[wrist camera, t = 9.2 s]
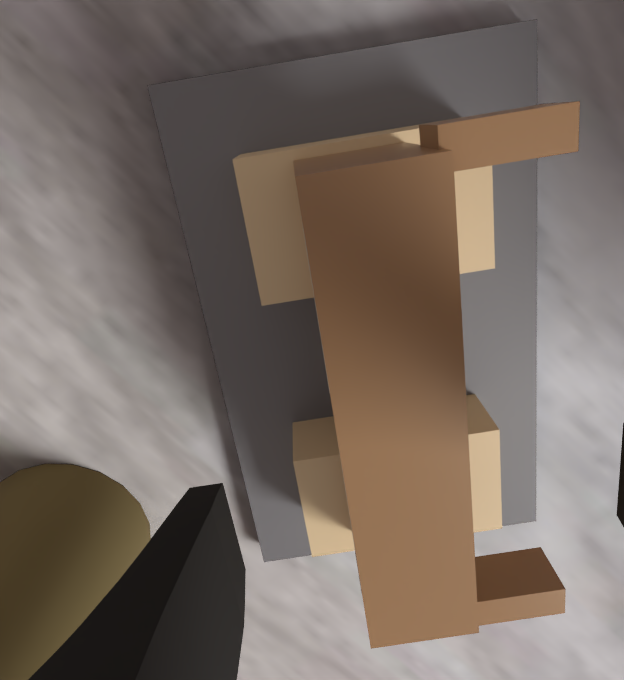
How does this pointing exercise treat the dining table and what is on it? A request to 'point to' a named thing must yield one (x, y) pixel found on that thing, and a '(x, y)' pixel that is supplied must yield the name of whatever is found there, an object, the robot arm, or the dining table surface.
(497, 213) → the gray tray with blocks
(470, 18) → the dining table surface
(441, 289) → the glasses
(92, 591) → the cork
